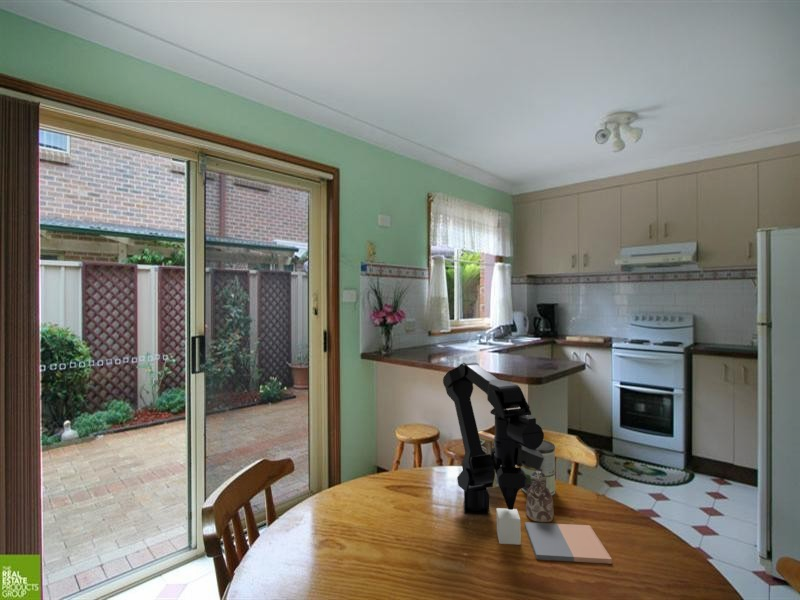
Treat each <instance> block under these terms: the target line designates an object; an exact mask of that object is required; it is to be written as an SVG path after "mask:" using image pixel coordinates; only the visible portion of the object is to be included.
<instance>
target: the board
mask: <svg viewBox="0 0 800 600" xmlns="http://www.w3.org/2000/svg"><path fill="white" fill-rule="evenodd" d="M524 527H525V531H526V533H527V535H528V539H529V541H530V545H531V547H532V549H533V550H532V551H533V553H534V555H535V558H536V560H544V561H545V560H546V561H558V562H560V561H561V562H577V563H578V562H579V563H595V564H609V565H612V564H613V560H612V557H611V555H610V554H609V553H608V551H607V549H606V548H605V546H604V545H603V544H602V541H601V540H600V539H599V537H598V536H597V534H596V533H595V531H594V529H593V528H592V526H591V525H589V524H571V523H570V524H568V523H551V522H528V521H527V522H526V521H524Z"/></svg>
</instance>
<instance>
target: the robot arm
mask: <svg viewBox="0 0 800 600" xmlns="http://www.w3.org/2000/svg"><path fill="white" fill-rule="evenodd" d="M442 383H443V386H444V388H445V391H446V394H447V396H448V397H449V398H450V399H451V400H452V401H453V402H454V407H455V411H456V416H457V420H458V421H457V422H458V425H459V430H460V434H461V435H460V436H461V441H462V443H463V448H464V449H463V450H464V455H463V458H462V462H461V467H462V471H460V473H459V474H458V476H457V477H456V478H457V479H456V480H457V485H458V487H459V488H461V489H462V490H463V513H464V514H474V515H488V514H489V509H490V492H489V490H488V489H489V488H492V487H493V482H494V478H495V472H496V474H497V481H498V485H499V486H498V487H499V489H500V492H501V494H502V497H503V499H504V502H505V505H506V507H507V509H509V510H513V509H514V506H515V503H516V499H517V496H518V492H519V491H520V490H522V489H521V488H524V487H526V486H527V477H526V475H525V473H524V471H523V470H522V469H521V466H522V463H524V464H526V465H528V466H531V467H534V468H535V469H536V470H540V469H541V466H542V463H543V460H544V457H543V455H542V453H541V452H539V451H538V450H536V448H538V447H539V446H540V445H541V444H542V442H543V440H545V438H544V437H545V434H544V433H545V432H544V431H543V428H542V427H541V425H540V424H537V418H536V417H533V416H531V415H532V411H531V410H530V408H531V407H530V405H529V403H528V402H527V400H526V397H525V395H524V393H523V391H522V389H521V387H520V386H519V385H518V384H516V383H513V382H511V381H508V380H507V381H506V380H501V379H498V378H497V377H496V376H494V375H493V374H492V373H490V372H489V371H487V370H486V369H485V368H483V367H481V366H480V364H479V363H477V362H475V361H473V362H472V361H471V362H470V361H469V362H462V363H460V364H459V365H458V366H457V367H455V368H453V369H451V370H448V372H446V373H445V375H444V376H443V378H442ZM474 385H475V387H477V388H478V389H480V390H481V391H483V392H484V393H485V394H486V395H487V396H486V397H487V398H486V399H487V400H486V401H487V402H489V404H490V405H491V406H492V407H493V408H492V409H491V410H490V411H489V412H490V413H489V414H491V415H493V416H494V435H495V437H494V442H495V446H494V447H493V448H492V449H491V456H490V454H486V453H485V452H484V451H483V449H482V446H481V442H480V438H479V433H478V432H479V430H478V426H477V421H476V418H475V413H474V408H473V405H472V400H471V397H472V394H473V391H474ZM494 458H495V459H494ZM516 466H517V467H516Z"/></svg>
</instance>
